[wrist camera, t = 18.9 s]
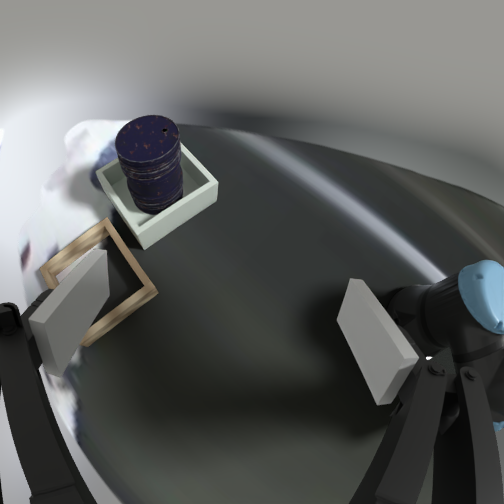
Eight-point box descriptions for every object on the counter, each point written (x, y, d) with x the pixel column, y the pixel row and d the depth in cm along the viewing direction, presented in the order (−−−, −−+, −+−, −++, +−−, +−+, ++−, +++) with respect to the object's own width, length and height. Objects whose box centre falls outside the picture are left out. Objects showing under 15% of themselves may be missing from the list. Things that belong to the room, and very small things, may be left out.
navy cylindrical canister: (141, 224, 50) (122, 172, 36) (126, 182, 52) (108, 128, 39) (192, 202, 53) (190, 147, 39) (173, 164, 55) (168, 107, 42)
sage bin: (170, 149, 58) (168, 129, 52) (216, 200, 55) (218, 182, 49) (103, 189, 52) (95, 171, 47) (144, 250, 49) (137, 235, 44)
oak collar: (112, 226, 50) (107, 216, 47) (158, 293, 47) (155, 287, 44) (48, 274, 44) (39, 268, 41) (87, 346, 41) (79, 345, 38)
